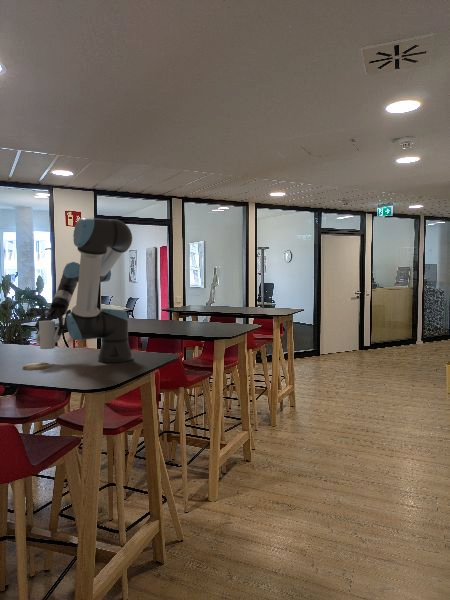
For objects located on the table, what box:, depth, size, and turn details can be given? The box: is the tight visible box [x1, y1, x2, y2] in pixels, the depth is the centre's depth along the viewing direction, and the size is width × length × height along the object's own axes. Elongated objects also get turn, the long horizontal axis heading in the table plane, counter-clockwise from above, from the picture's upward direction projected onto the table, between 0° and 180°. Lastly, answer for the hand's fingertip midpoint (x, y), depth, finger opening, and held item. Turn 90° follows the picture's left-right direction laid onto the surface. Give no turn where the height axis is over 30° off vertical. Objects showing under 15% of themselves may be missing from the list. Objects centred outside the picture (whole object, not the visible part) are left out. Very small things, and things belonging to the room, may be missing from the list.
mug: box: [39, 320, 62, 350], centre depth 206 cm, size 10×7×12 cm, turn 135°
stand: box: [22, 362, 51, 371], centre depth 196 cm, size 11×11×1 cm
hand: (46, 340), depth 203 cm, fingers closed on mug, 7 cm apart
